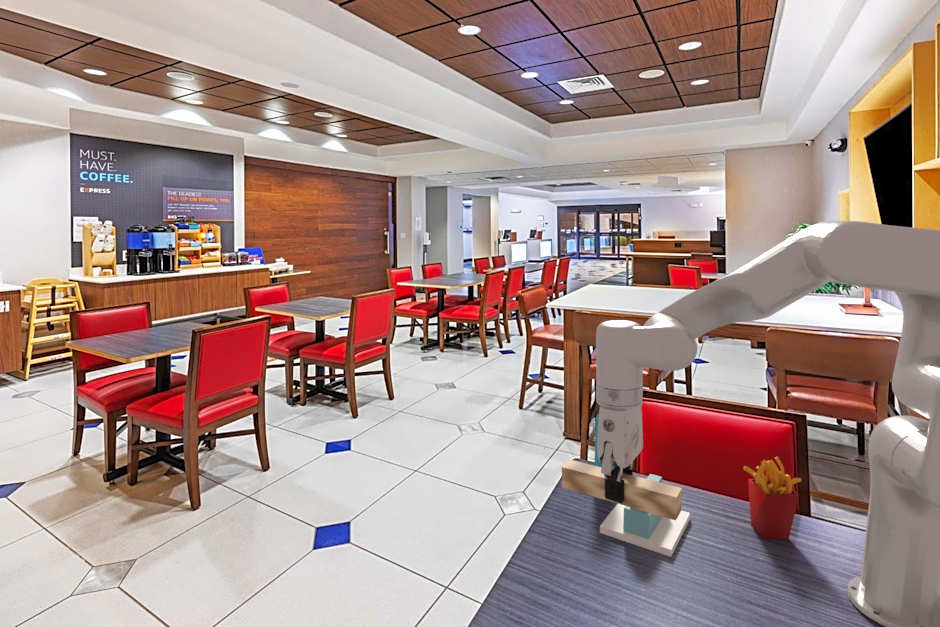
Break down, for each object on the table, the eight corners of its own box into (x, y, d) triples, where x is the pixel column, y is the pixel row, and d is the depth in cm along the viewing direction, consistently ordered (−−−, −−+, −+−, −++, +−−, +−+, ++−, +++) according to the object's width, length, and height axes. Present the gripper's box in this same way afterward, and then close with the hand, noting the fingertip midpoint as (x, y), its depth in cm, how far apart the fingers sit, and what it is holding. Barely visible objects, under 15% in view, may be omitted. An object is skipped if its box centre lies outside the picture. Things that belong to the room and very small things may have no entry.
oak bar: (681, 510, 84) (682, 488, 83) (675, 520, 81) (676, 497, 80) (570, 479, 95) (569, 459, 95) (561, 487, 93) (561, 466, 92)
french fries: (796, 541, 99) (803, 469, 96) (754, 542, 99) (759, 470, 96) (770, 516, 107) (775, 449, 105) (731, 517, 107) (735, 450, 105)
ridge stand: (689, 519, 107) (691, 482, 106) (671, 557, 95) (672, 515, 94) (624, 500, 115) (625, 465, 114) (599, 532, 103) (600, 494, 102)
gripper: (624, 413, 76) (623, 524, 79) (656, 384, 90) (654, 480, 92) (578, 405, 81) (579, 510, 84) (614, 378, 94) (614, 470, 97)
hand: (618, 493), depth 88 cm, fingers closed on oak bar, 3 cm apart
